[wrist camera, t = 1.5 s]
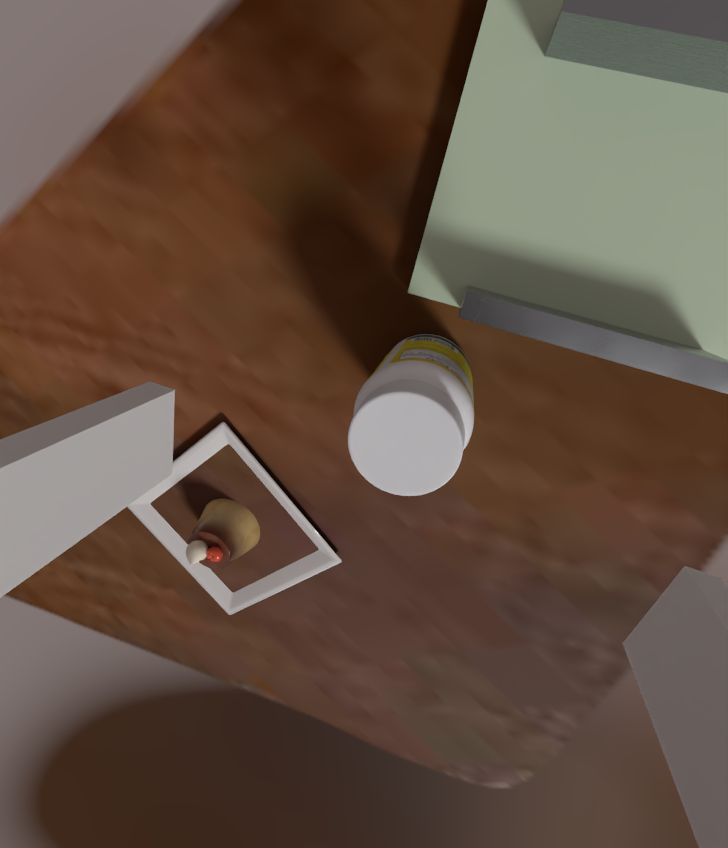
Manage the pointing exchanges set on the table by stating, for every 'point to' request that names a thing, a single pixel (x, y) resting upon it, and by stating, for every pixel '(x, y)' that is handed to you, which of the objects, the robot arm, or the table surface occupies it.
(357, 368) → the table surface
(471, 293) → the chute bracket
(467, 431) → the supplement bottle
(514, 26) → the board
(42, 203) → the table surface
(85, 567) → the table surface
